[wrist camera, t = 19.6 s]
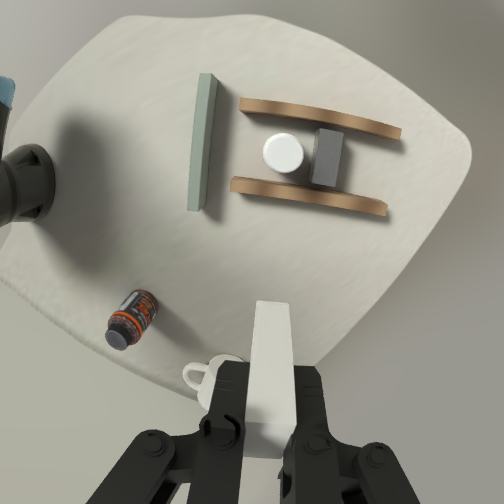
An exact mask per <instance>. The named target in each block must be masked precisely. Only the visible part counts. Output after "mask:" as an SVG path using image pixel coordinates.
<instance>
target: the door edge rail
mask: <svg viewBox="0 0 504 504" xmlns="http://www.w3.org/2000/svg"><path fill="white" fill-rule="evenodd" d="M217 85H218V79H217V78H216V77H215V76H214V75H213V74H206V73H200V75H199V83H198V90H197V98H196V106H195V115H194V125H193V135H192V146H191V157H190V171H189V185H188V203H187V210H188V211H197V212H198V211H199V210H200V209H201V208H203V207H204V206H205V205H206V192H207V180H208V168H209V157H210V146H211V136H212V127H213V118H214V109H215V101H216V93H217Z"/></svg>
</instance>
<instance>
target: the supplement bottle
mask: <svg viewBox="0 0 504 504" xmlns="http://www.w3.org/2000/svg"><path fill="white" fill-rule="evenodd" d="M157 310H158V307H157V303H156V301H155V299H154V298H153V296H151V295H150V294H149V293H148V292H146V291H143V290H136V291H133V292H132V293H131V294H130V295H129V296H128V297H127V298H126V299H125V301H124V302H123V303H122V304H121V305H120V306H119V307H118V309H117V310H116V311H115V312H114V313H113V315H112V316H111V317H110V318H109V321H108V330H107V331H106V333H105V338H106V341H107V342H108V344H109V345H110V346H111V347H113V348H114V349H117V350H120V351H123V350H125V349H126V348H127V347H128V346H129V345H133V344H136V343H137V342H138V341H139V340H140V338H141V336H142V335H143V333H144V332H145V330H146V329H147V327H148V326H149V324H150V323H151V321H152V320H153V318H154V317H155V315H156V313H157Z"/></svg>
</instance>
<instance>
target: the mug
mask: <svg viewBox="0 0 504 504" xmlns="http://www.w3.org/2000/svg"><path fill="white" fill-rule="evenodd" d="M225 360H231V361H240V362H244V361H243V360H241V359H240V358H238V357H236V356H233V355H228V354H222V355H217V356H215V357H214V358H212V359H211V361H210V362H209V364H208V365H206V364H203V363H197V362H193V363H189V364H187V365H186V366H185V367H184V369H183V378H184V380H185V382H186V383H187V384H188V385H189V386H190V387H191V388H193V389H194V390H196V391H198V393H197V397H198V401H199V403H200V405H201V406H202V407H203V408H204V409H205V410H207V411H209V407H210V403H211V398H212V393H213V389H214V384H215V381H216V375H217V371H218V368H219V367H220V365H221V364H222V363H223V362H224V361H225ZM190 370H197V371H202V372H205V375H204V377H203V380H202V382H201V384H198V383H195V382H193V381H192V380H191V379H190V378H189V377H188V371H190Z"/></svg>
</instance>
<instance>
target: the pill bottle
mask: <svg viewBox="0 0 504 504" xmlns="http://www.w3.org/2000/svg"><path fill="white" fill-rule="evenodd" d="M263 159H264V161H265V163H266V165H267V166H268V167H269V168H270V169H272V170H273V171H275V172H278V173H289V172H292V171H294V170H296V169H297V168H298V167H299V166H300V165H301V163H302V161H303V159H304V148H303V146H302V144H301V142H300V141H299V140H298V139H297V138H296V137H295V136H293V135H291V134H288V133H279V134H275V135H273V136H271V137H270V138H269V139H268V140H267V141H266V143H265V144H264V147H263Z"/></svg>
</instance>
